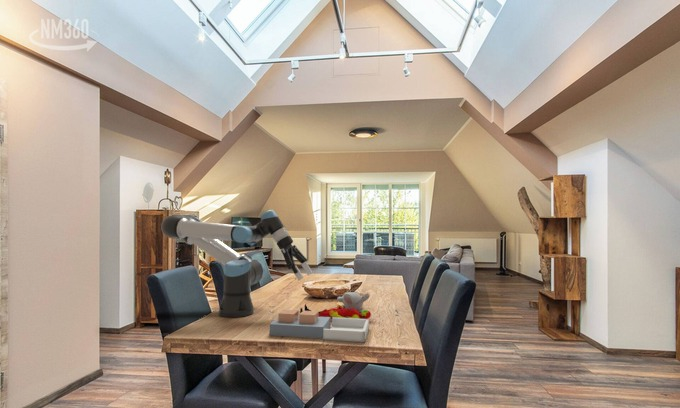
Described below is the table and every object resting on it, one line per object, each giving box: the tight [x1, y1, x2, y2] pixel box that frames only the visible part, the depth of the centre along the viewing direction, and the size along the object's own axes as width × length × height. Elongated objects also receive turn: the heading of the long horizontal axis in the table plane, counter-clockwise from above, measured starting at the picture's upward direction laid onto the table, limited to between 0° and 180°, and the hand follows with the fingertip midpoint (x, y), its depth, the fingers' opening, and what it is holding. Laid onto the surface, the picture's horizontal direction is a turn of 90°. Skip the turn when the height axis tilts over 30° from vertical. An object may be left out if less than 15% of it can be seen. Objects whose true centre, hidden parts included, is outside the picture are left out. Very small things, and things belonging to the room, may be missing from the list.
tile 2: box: [298, 310, 320, 323], centre depth 136 cm, size 6×6×3 cm
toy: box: [336, 291, 370, 314], centre depth 168 cm, size 12×10×30 cm
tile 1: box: [277, 309, 299, 322], centre depth 137 cm, size 6×6×3 cm
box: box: [323, 317, 370, 343], centre depth 133 cm, size 14×17×4 cm
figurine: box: [299, 304, 372, 319], centre depth 154 cm, size 12×6×30 cm
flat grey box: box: [268, 315, 332, 340], centre depth 136 cm, size 20×14×4 cm
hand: (305, 276), depth 172 cm, fingers open, 13 cm apart
